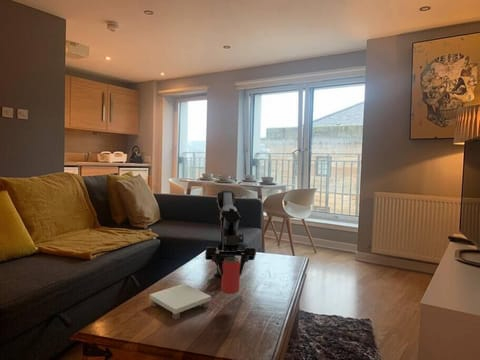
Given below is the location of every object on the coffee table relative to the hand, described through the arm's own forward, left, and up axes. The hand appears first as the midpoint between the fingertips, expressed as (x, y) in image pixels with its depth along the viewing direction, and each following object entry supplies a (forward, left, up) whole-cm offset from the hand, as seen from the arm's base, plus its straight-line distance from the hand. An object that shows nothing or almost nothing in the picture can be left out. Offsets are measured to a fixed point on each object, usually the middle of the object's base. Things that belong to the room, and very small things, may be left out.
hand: (231, 274), depth 119 cm
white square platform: (-15, -11, -13) cm, 23 cm away
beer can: (-1, +1, -7) cm, 7 cm away
